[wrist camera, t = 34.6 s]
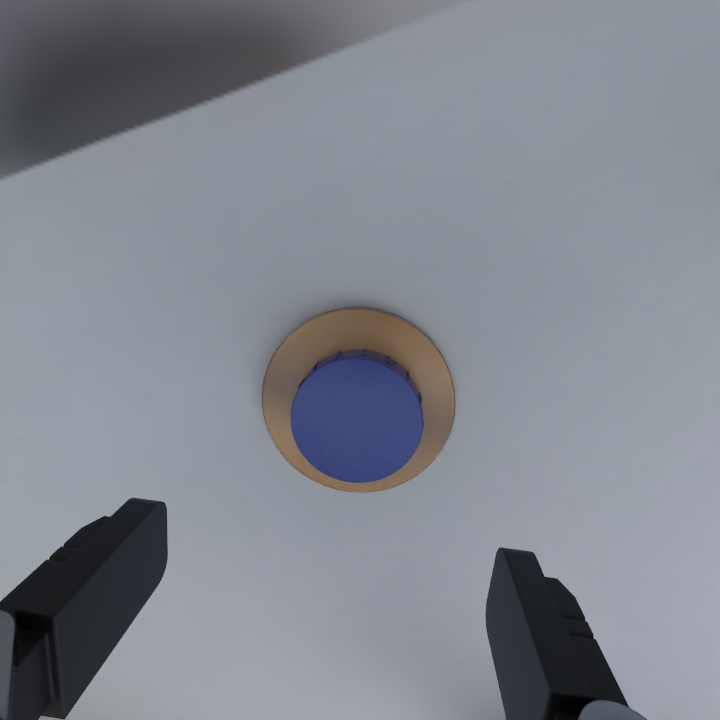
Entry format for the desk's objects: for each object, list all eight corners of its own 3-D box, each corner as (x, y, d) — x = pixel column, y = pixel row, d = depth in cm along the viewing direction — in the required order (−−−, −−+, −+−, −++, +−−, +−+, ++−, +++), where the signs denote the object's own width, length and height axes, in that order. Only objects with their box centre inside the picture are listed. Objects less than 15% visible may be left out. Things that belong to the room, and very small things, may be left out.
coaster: (269, 297, 21) (265, 298, 20) (467, 318, 21) (469, 320, 20) (261, 474, 23) (257, 480, 23) (439, 497, 23) (440, 503, 22)
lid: (368, 488, 22) (366, 508, 21) (273, 415, 22) (263, 429, 20) (448, 402, 21) (452, 415, 19) (349, 322, 20) (345, 329, 19)
